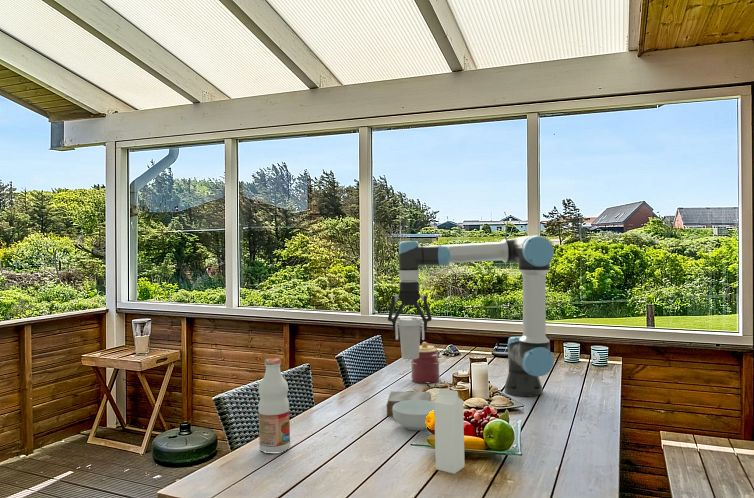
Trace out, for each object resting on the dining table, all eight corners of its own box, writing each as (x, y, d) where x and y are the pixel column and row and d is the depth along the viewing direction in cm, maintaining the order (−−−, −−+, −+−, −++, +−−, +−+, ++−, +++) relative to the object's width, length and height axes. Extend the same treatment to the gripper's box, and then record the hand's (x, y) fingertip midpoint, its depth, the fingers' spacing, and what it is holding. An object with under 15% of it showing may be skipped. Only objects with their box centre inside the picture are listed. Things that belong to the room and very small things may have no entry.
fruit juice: (259, 445, 176) (256, 357, 175) (289, 442, 178) (286, 355, 178) (260, 456, 167) (257, 363, 166) (291, 452, 169) (288, 361, 168)
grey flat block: (431, 404, 215) (430, 391, 215) (430, 416, 201) (430, 401, 201) (390, 404, 216) (389, 391, 216) (387, 415, 202) (386, 401, 202)
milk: (446, 462, 158) (444, 385, 158) (465, 467, 155) (463, 388, 155) (435, 469, 154) (433, 390, 154) (454, 474, 150) (452, 393, 150)
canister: (407, 382, 249) (406, 343, 249) (416, 376, 261) (415, 338, 261) (435, 384, 244) (434, 345, 244) (443, 377, 256) (442, 340, 256)
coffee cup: (420, 360, 207) (420, 320, 207) (395, 359, 209) (395, 320, 209) (424, 355, 216) (423, 317, 216) (400, 354, 218) (399, 316, 218)
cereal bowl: (408, 438, 178) (408, 417, 178) (384, 424, 193) (383, 404, 193) (451, 429, 186) (451, 408, 186) (425, 416, 201) (424, 396, 201)
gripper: (438, 280, 214) (439, 337, 215) (381, 280, 217) (382, 337, 218) (437, 281, 207) (438, 341, 207) (379, 282, 210) (380, 340, 210)
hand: (410, 339), depth 212 cm, fingers closed on coffee cup, 9 cm apart
